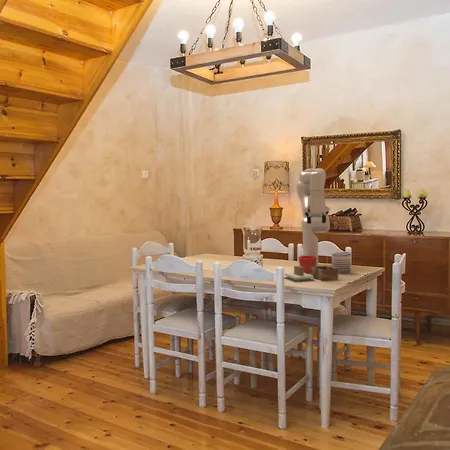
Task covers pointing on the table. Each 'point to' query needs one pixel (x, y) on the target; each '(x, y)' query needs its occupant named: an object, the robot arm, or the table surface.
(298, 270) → the lid
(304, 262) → the flower pot
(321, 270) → the box
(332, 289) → the table surface
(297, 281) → the mat
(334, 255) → the can
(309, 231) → the robot arm
